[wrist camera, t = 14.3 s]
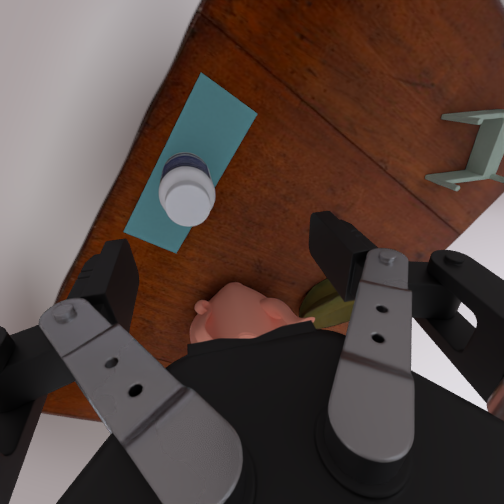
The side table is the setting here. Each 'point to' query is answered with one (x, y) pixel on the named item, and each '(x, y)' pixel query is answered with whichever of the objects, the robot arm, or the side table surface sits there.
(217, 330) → the teapot
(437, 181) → the rack
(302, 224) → the side table surface
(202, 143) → the strip
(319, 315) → the fruit
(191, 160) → the pill bottle
